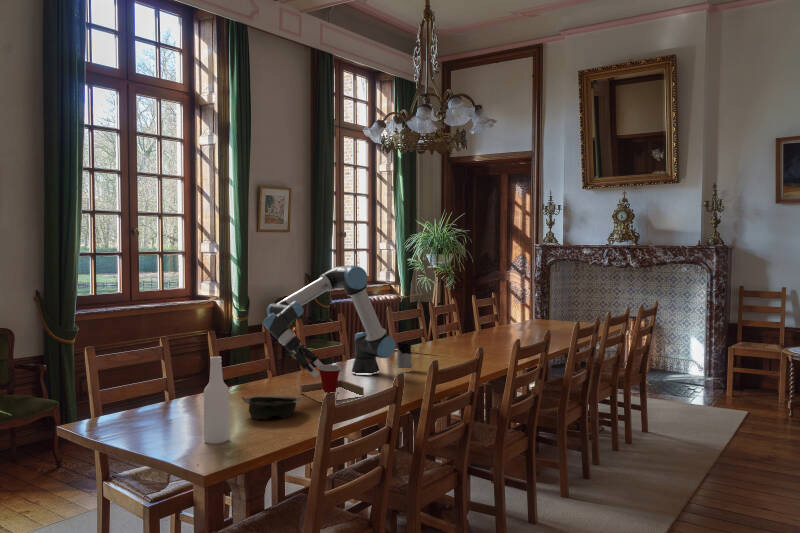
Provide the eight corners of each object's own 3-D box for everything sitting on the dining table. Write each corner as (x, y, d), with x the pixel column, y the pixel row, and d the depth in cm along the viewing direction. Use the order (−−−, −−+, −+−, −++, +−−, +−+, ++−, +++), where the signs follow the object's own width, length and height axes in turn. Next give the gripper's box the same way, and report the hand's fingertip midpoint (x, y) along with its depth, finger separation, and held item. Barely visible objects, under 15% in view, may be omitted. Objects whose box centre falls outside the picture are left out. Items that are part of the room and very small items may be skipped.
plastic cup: (344, 392, 298) (344, 367, 297) (322, 396, 294) (321, 370, 292) (337, 386, 308) (336, 362, 307) (316, 389, 304) (315, 365, 302)
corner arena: (341, 388, 313) (341, 379, 313) (363, 397, 295) (363, 387, 294) (300, 394, 301) (300, 384, 301) (320, 403, 283) (320, 393, 283)
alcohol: (232, 437, 232) (231, 354, 231) (226, 444, 223) (225, 358, 222) (207, 437, 232) (206, 355, 231) (201, 444, 223) (199, 359, 222)
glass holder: (394, 370, 361) (394, 343, 361) (418, 368, 366) (418, 342, 365) (399, 372, 353) (399, 346, 353) (423, 371, 357) (423, 344, 357)
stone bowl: (243, 425, 247) (243, 401, 247) (242, 414, 271) (241, 392, 271) (307, 419, 253) (306, 395, 254) (300, 409, 277) (299, 388, 278)
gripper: (292, 342, 312) (322, 373, 311) (276, 350, 288) (308, 384, 286) (302, 332, 312) (332, 363, 310) (287, 339, 287) (320, 372, 285)
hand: (321, 373), depth 298 cm, fingers open, 13 cm apart
